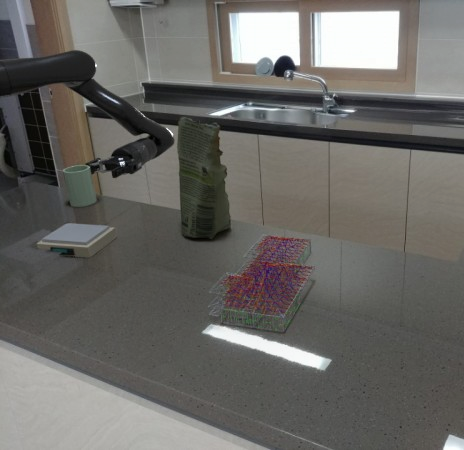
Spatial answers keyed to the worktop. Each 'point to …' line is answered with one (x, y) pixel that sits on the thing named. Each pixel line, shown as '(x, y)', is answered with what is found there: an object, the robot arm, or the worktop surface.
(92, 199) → the cup
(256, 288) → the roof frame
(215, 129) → the pouch
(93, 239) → the scale
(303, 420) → the worktop surface
